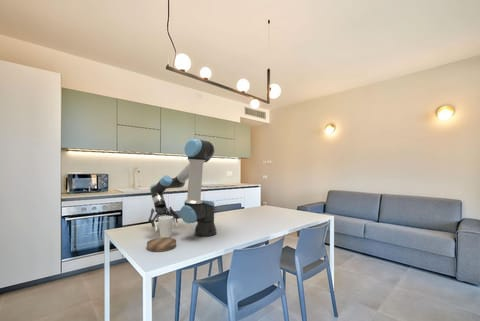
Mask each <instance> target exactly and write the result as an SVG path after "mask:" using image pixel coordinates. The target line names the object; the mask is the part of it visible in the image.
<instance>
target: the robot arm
mask: <svg viewBox="0 0 480 321" xmlns="http://www.w3.org/2000/svg"><path fill="white" fill-rule="evenodd" d="M184 153H185V155H186V156H187V161H188V162H189V163H188V164H187V165H186V166H185V167H184V168H182V169H181V171H180V172H179V173H178V174H177V175H176V176H175V177H171V176H170V175H169V176H168V175H166V174H165V175H163V176H162V177H161V178H160V179H159V180H158V182H157V183H154V184H152V185H151V186H150V188H149V190H150V195H151V198H152V202H153V206H154V208H151V210H150V215H149V218H148V221H147V223H150V224H151V227H152V228H154V232H155V233H157V232H158V230H159V229H158V227H157V221H156V220H157V218H158V216H173V225H174V228H175V229H176V230H177V229H178V227H179V225H178V223H179V222H178V219H179V217H180V218H181V219H182V222H184V223H186V224H195V223H196V226H195V229H194V235H195V236H196V237H201V238H202V237H204V238H205V237H213V236H215V235H216V234H217V228H216V225H215V201H212V200H205V199H204V200H202V199H201V197H202V182H203V167H204V164H205V163H208V162H209V161H210V160H211V159H212V157H214V153H215V147H214V145H213V143H211V142H210V141H207V140H204V139H199V138H191V139H189V140H188V141H187V142H186V143H185V145H184ZM187 180H188V182H187ZM186 182H187V196H186V199H185V201H184V203H183V206H181V208H180V211H179V215H178V213H176V212H175V211H174V210H173V208H172V206H169V207H167V204H166V201H165V197H164V194H163V193H164V192H165V191H166V190H167V189H168V190H169V189H181V188H183V187H185V184H186ZM154 213H156V214H155V215H154ZM153 215H154V217H153Z"/></svg>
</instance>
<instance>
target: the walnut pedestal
mask: <svg viewBox="0 0 480 321" xmlns="http://www.w3.org/2000/svg"><path fill="white" fill-rule="evenodd" d="M176 247H177V239H175V238H174V237H170V238H168V237H164V238H160V237H156V238H152V239H150V240H147V242H146V250H147V251H149V252H152V253H162V252H168V251H172V250H174V249H176Z"/></svg>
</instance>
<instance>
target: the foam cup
mask: <svg viewBox="0 0 480 321" xmlns="http://www.w3.org/2000/svg"><path fill="white" fill-rule="evenodd" d="M157 218H158V219H157V220H158V228H159V229H158V230H159V238H164V237H168V238H171V235H172V230H173V229H172V228H173V224H174V222H173V220H174V219H173V216H168V215H160V216H159V217H157Z"/></svg>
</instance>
